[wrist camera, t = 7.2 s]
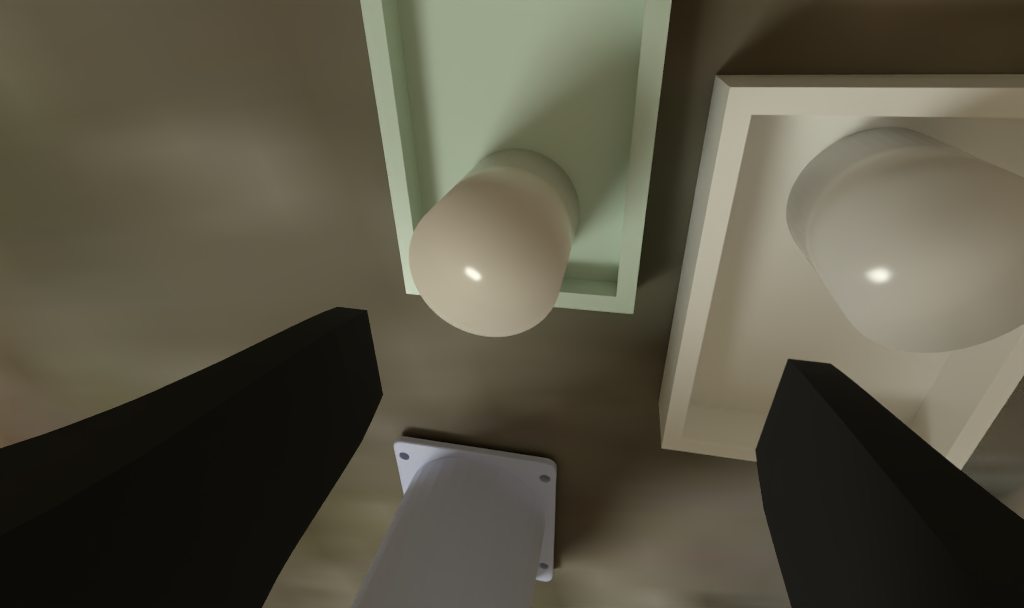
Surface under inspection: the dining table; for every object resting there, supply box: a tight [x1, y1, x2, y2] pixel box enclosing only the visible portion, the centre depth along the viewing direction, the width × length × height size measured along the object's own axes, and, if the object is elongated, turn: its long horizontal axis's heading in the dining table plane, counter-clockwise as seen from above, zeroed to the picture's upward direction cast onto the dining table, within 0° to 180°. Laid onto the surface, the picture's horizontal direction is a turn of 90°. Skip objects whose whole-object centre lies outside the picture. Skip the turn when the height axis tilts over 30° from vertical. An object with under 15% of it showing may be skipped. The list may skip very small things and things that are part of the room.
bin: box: [659, 74, 1024, 470], centre depth 15 cm, size 12×9×2 cm
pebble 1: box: [409, 149, 580, 337], centre depth 14 cm, size 4×4×4 cm
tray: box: [360, 0, 672, 314], centre depth 14 cm, size 12×8×2 cm, turn 2°
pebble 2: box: [786, 127, 1024, 353], centre depth 12 cm, size 4×4×4 cm
